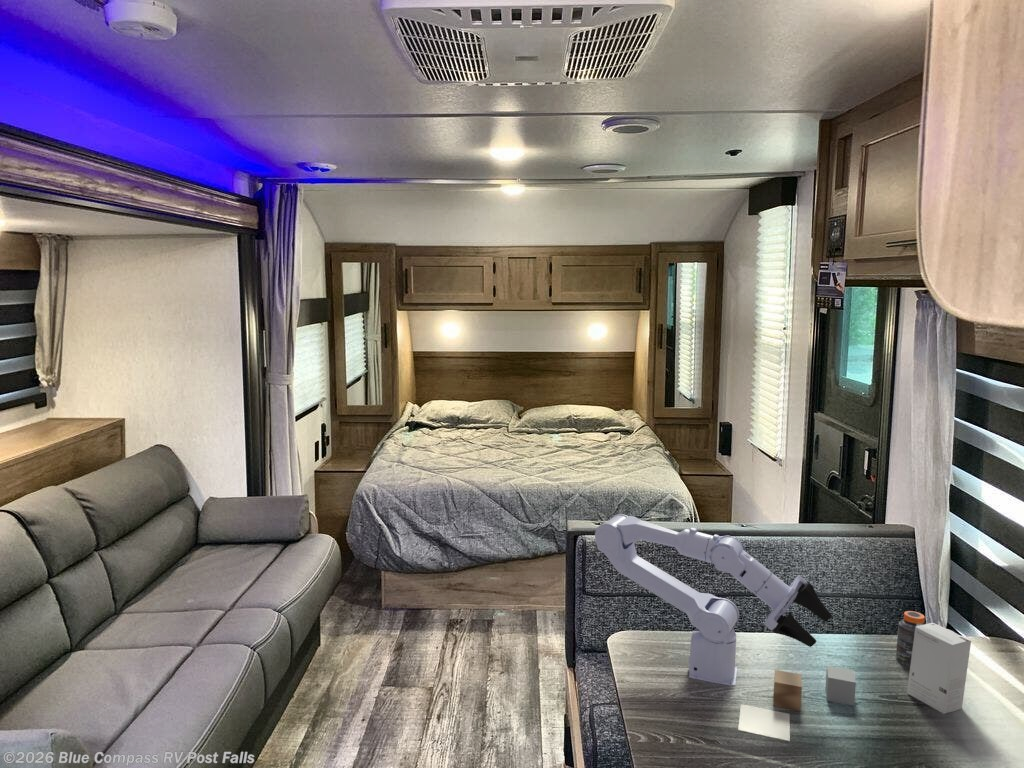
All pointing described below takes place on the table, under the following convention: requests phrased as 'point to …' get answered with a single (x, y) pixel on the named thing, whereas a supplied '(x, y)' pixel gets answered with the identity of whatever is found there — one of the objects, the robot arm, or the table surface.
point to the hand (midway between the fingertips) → (821, 631)
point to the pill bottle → (907, 636)
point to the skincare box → (938, 667)
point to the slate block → (840, 685)
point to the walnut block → (787, 690)
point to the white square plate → (764, 722)
